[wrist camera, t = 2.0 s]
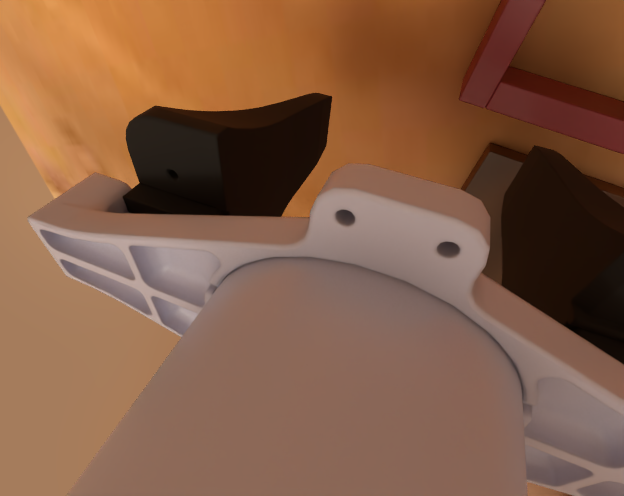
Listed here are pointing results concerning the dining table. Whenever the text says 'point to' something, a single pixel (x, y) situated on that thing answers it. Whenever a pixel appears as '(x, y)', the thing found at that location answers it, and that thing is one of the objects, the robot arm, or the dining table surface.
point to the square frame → (536, 85)
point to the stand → (490, 190)
